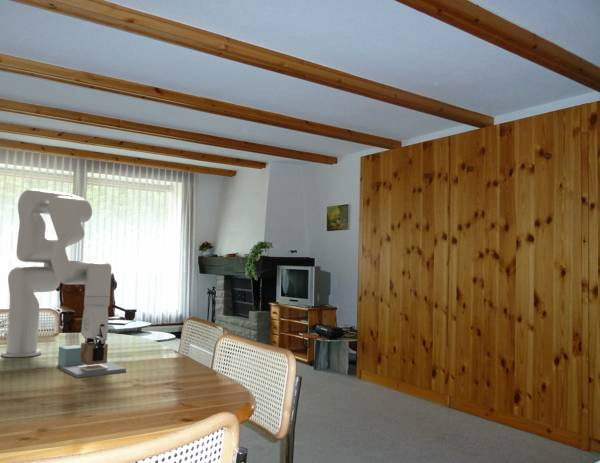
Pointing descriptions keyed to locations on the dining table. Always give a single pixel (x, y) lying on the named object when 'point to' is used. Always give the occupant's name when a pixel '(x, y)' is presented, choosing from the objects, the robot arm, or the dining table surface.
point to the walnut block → (91, 354)
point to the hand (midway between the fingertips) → (93, 358)
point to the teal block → (69, 355)
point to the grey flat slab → (92, 369)
